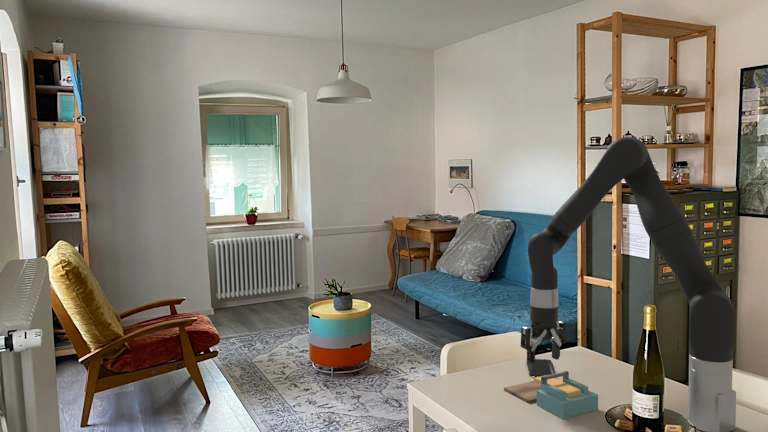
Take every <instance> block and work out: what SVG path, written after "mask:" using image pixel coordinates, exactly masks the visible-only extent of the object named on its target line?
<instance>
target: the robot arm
mask: <svg viewBox="0 0 768 432" xmlns="http://www.w3.org/2000/svg"><path fill="white" fill-rule="evenodd" d="M622 180H624V182H625V183H626V185H627V186H628V188H629V189H630V191H631V193H632V195H633V198H634V200H635V203H636V206H637V210H638V214H639V217H640V219H641V223H642V225H643V228H644V230H645V231H646V234H647V236H648V238H649V240H650V242H651V243H652V245H653V247H654V248H655V250H656V252H657V253H658V254H659V256H660V257H661V258H662V260H663V261H664V263H666V265H667V266H668V267H669V268H670V269H671V271H672V272H673V274H674V275H675V276H676V278H677V280H678V282H679V284H680V285H681V286H680V287H681V288H682V290H683V292H684V295H685V297H686V300H687V302H688V305H689V341H688V342H689V344H688V348H689V351H688V353H689V355H688V361H689V362H688V407H687V408H688V412H687V413H688V417H687V418H688V420H689V421H690V422H691V423H693V424H694V426H695V427H696V428H695V429H696V430H699V431H701V432H702V431H703V432H732V431H735V430H736V420H737V417H736V416H737V415H736V414H737V391H736V390H734V389H733V370H734V369H733V362H734V361H733V360H734V350H735V325H736V324H735V322H736V321H735V319H736V318H735V316H736V315H735V314H736V313H735V308H734V305H733V302H732V300H731V298H730V297H729V296H728V294H727V293H726V292H725V290H724V289H723V288H722V286H721V285H720V284H719V282H718V281H717V279H716V277H714V275H713V274H712V272H711V270H710V268H709V267H708V265H707V263H706V260H705V258H704V256H703V253H702V250H701V248H700V246H699V243H698V242H697V239H696V237H695V234H694V233H693V231H692V229H691V227H690V225H689V223H688V222H687V220H686V218H685V216H684V214H683V212H682V211H681V210H680V208H679V206H678V204H677V203H676V202H675V200H674V198H673V197H672V195H671V194H670V192H669V191H668V189H667V188H666V186H665V185H664V184H663V182H662V180H661V178H660V176H659V174H658V172H657V170H656V167H655V166H654V163H653V161H652V158H651V156H650V153H649V151H648V148H647V146H646V145H645V144H644V142H643V141H641V140H640V139H638V138H636V137H632V136H630V137H629V136H628V137H627V136H626V137H620V138H617V139H615V140H613V141H612V142H610V144H609V145H608V146H607V149H606V150H605V152H604V153H603V155H602V156H601V158H600V159H599V161H598V163H597V164H596V165H595V167H594V169H593V171H592V172H591V173H590V174H589V175H588V176H587V177H586V179H585V180H584V182H583V183H582V184H581V185H580V186H579V187H578V188H577V189H576V190H575V191H574V192H573V193H572V194H571V195H570V196H569V198H568V199H567V200H566V201H565V202H564V203H563V204H562V205H561V206H560V207H559V208H558V209H557V211H556V212H555V213H554V214H553V215H552V218H551V222H550V223H549V224H548V225H547V226H546V227H545V229H543V230H542V231H540V232H537V233H534V234H533V235H532V236H531V237H530V238H529V241H528V245H527V255H528V260H529V261H528V262H529V266H530V271H531V275H530V276H531V277H530V280H531V281H530V282H531V283H530V284H531V285H530V286H531V287H530V293H529V296H530V297H529V299H530V300H529V301H530V302H529V318H530V319H529V320H530V322H531V325H530V326H524V325H523V326H521V329H520V330H521V332H520V348H522V349H524V350H526V362H527V361H528V363H530V364H535V359H536V349H537V346H539V345H540V344H541V342H545V341H550V342H551V343H552V344H551V358H552V359H553V360H560V356H561V346H562V344H566V343H567V323H566V322H564V321H561V320H559V291H558V290H559V289H558V285H559V284H558V282H559V281H558V280H559V279H558V270H557V268H556V267H555V266H554V256H555V255H556V254H557V253H559V251H561V249H562V248H563V247H564V246H565V245H566V243H567V242H568V241H569V239H570V238H571V236H572V235H573V234H574V233H575V232H576V231H577V230H578V229H579V228H580V227H581V226H582V225H583V224H584V222H585V221H587V219H588V218H590V216H591V215H592V214H593V212H594V211H595V209H596V208H597V207H598V206H599V204H600V203H601V201H602V200H603V199H604V198H605V196H607V194H608V193H609V192H610V191H611V190H612V189H613V188H614V187H615V186H616V185H618V183H620V182H621V181H622Z"/></svg>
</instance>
